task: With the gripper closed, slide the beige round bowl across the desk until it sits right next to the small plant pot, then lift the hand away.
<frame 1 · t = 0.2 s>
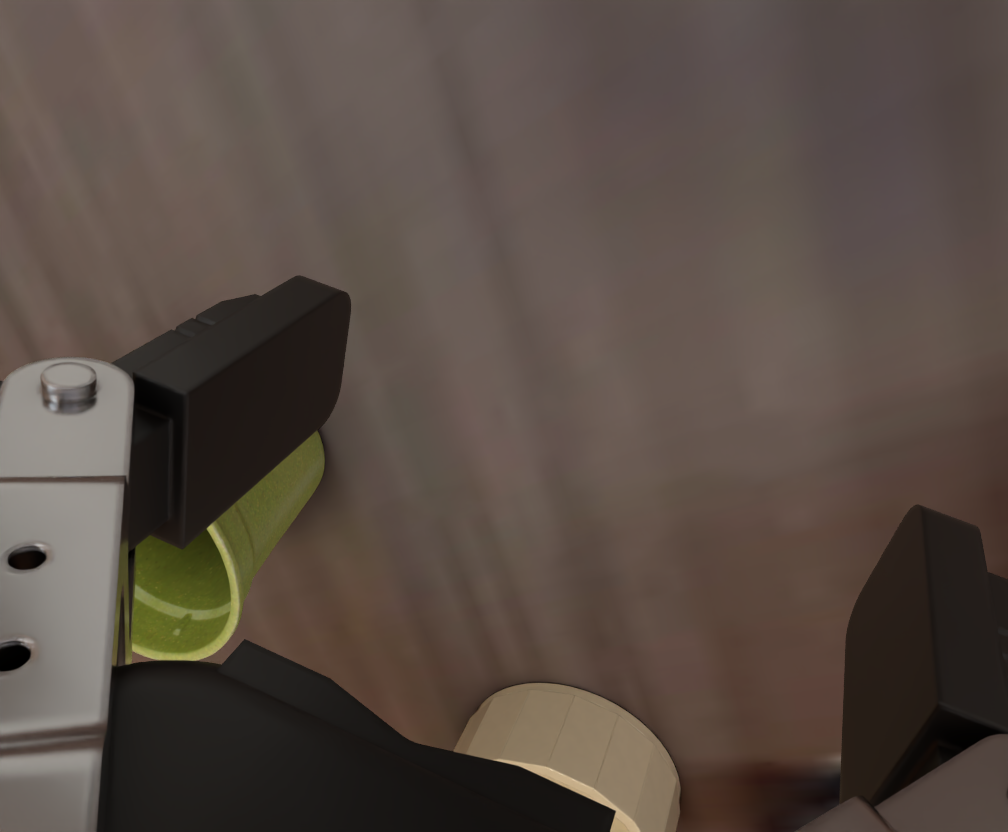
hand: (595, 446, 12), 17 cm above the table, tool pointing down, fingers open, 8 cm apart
beige round bowl: (570, 768, 41), on the table
plant pot: (265, 436, 38), on the table
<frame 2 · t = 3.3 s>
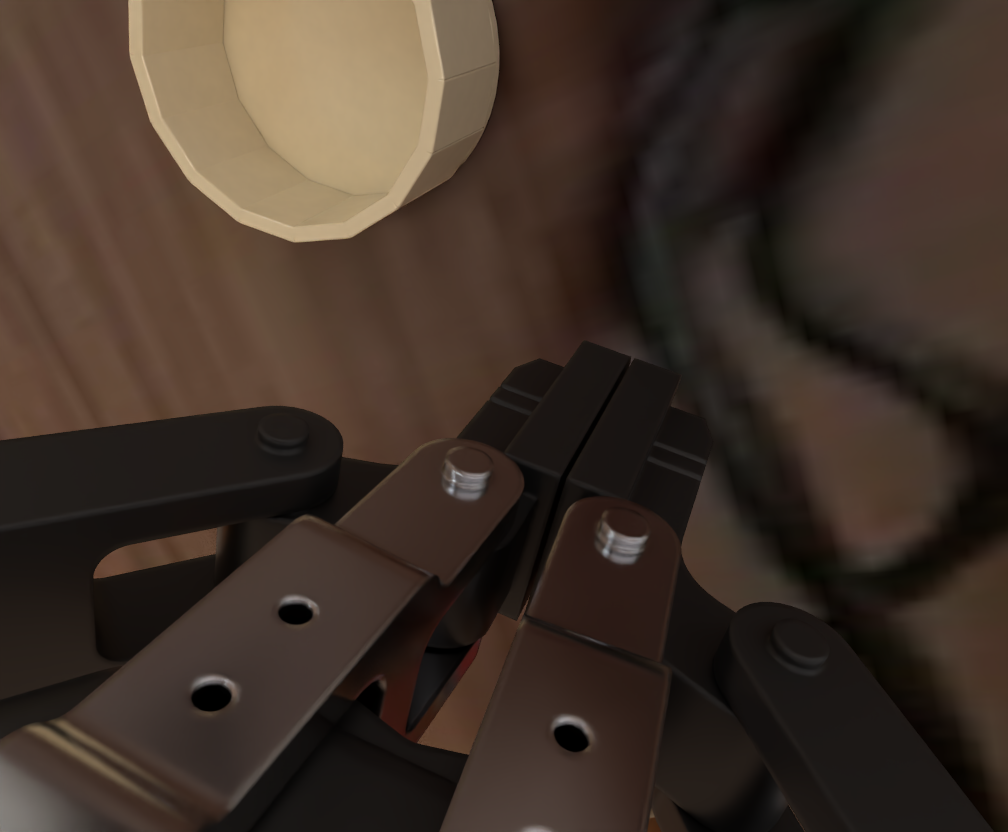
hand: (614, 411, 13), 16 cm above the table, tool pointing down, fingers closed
beige round bowl: (354, 49, 29), on the table
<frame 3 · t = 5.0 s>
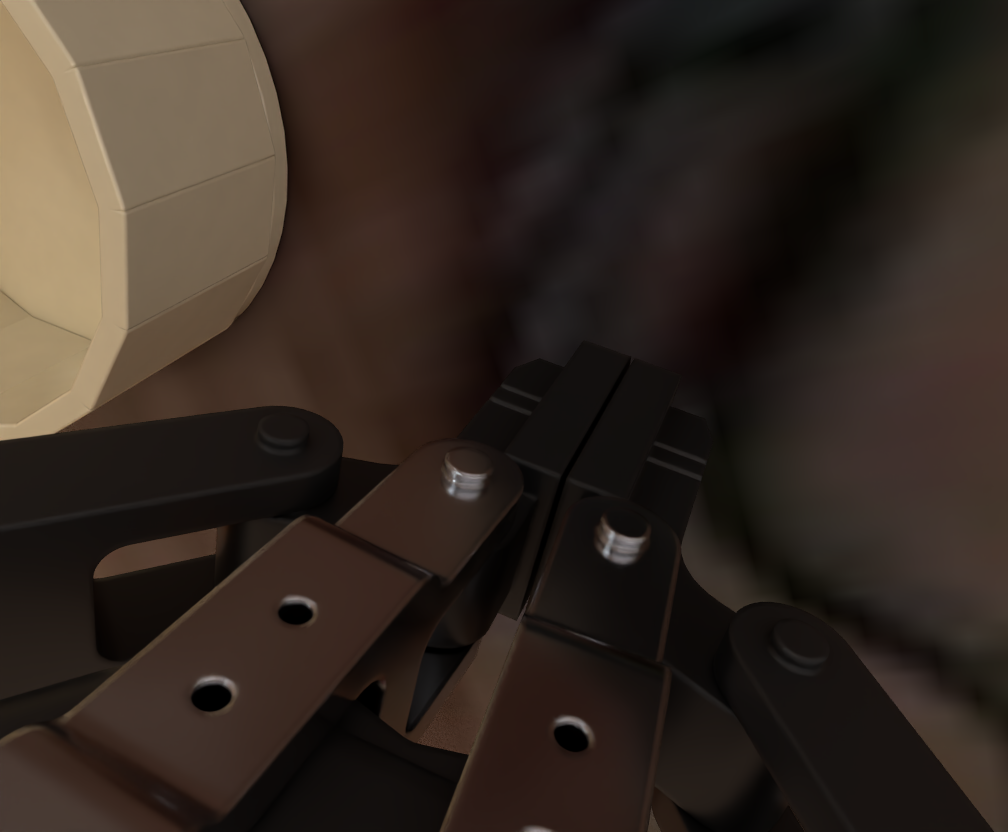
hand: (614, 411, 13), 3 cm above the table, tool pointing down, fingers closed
beige round bowl: (72, 124, 18), on the table
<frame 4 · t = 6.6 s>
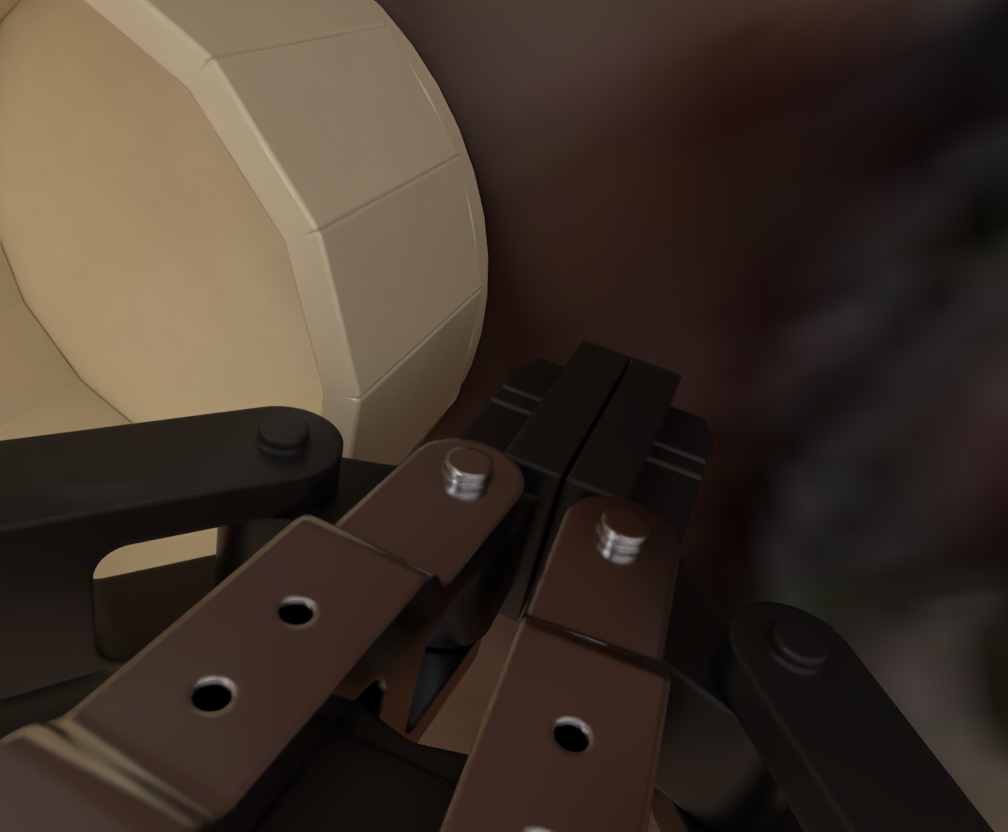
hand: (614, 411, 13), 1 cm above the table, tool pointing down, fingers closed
beige round bowl: (218, 233, 15), on the table, touching gripper
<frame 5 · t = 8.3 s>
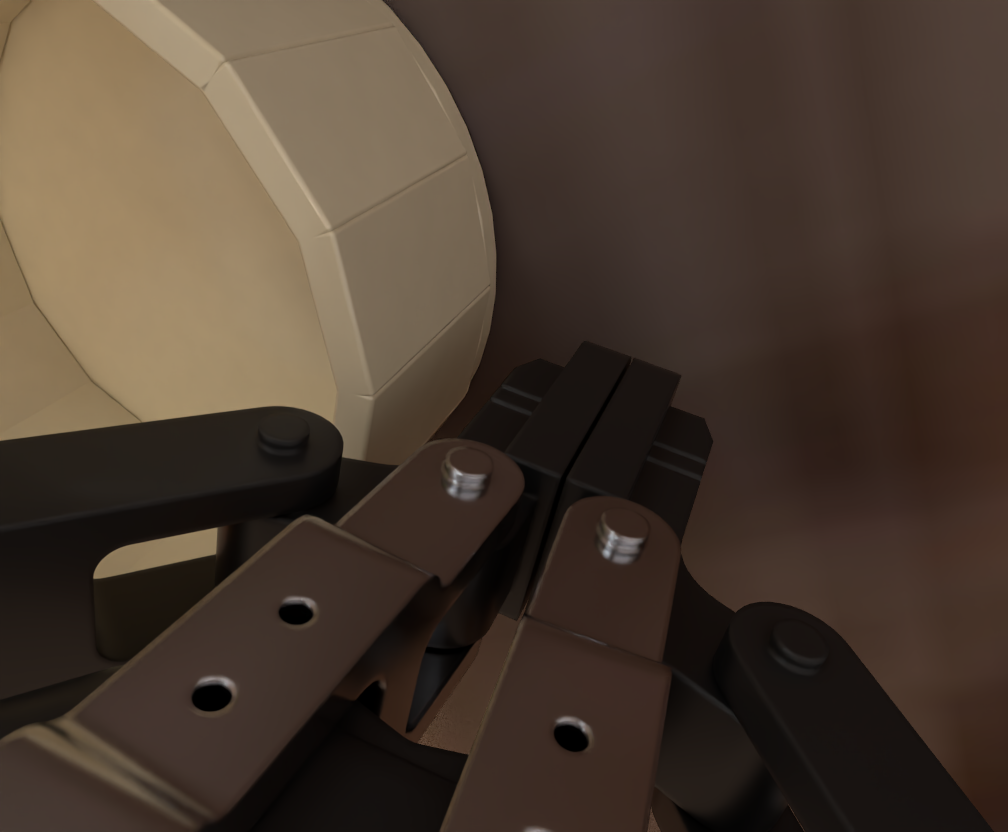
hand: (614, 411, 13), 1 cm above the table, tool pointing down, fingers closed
beige round bowl: (227, 233, 16), on the table, touching gripper
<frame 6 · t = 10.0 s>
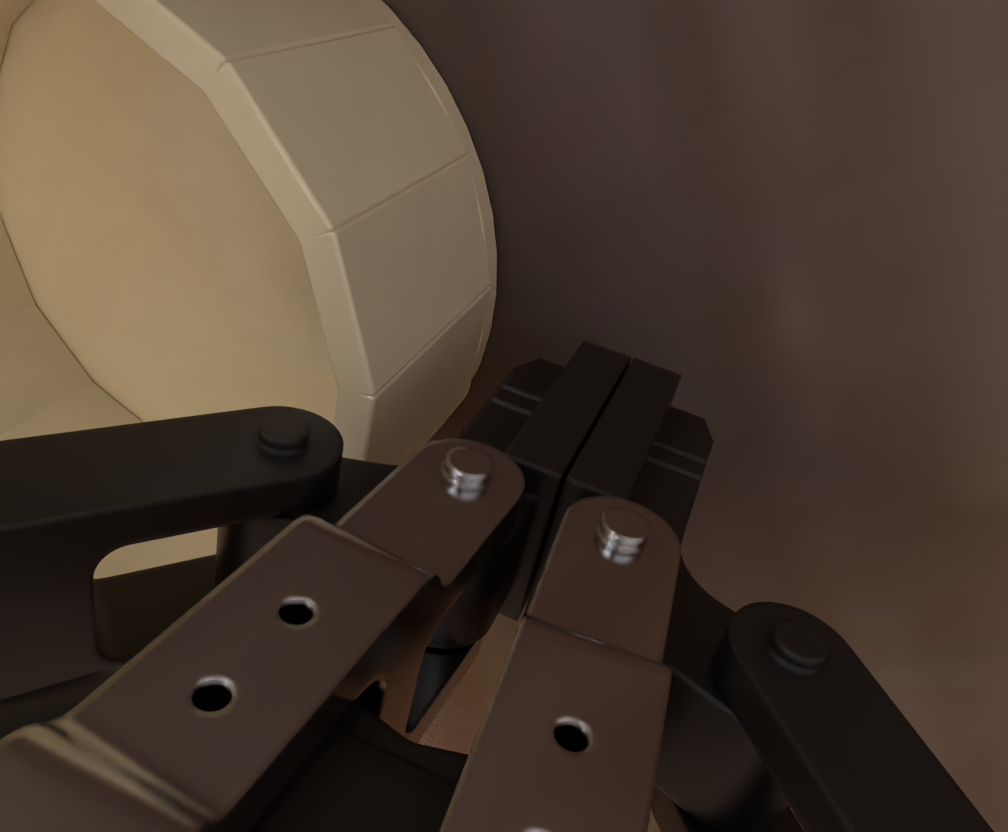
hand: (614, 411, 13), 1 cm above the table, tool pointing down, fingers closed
beige round bowl: (228, 234, 16), on the table, touching gripper
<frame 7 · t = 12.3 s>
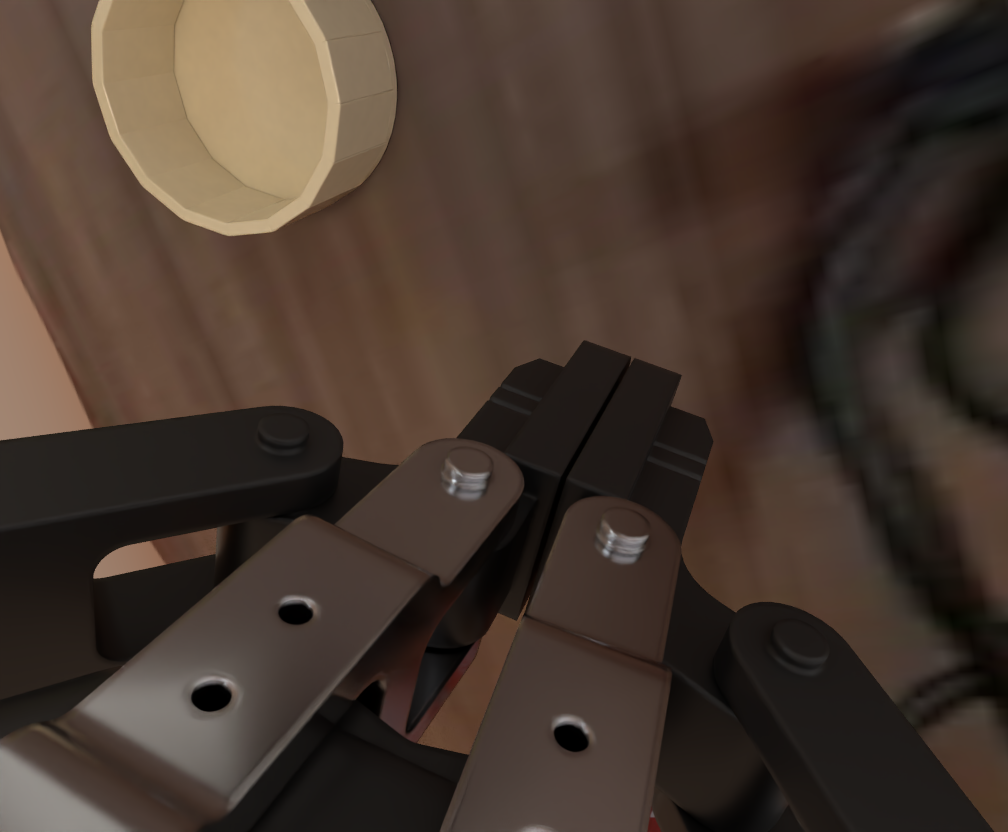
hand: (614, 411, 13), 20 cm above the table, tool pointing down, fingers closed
beige round bowl: (281, 78, 35), on the table
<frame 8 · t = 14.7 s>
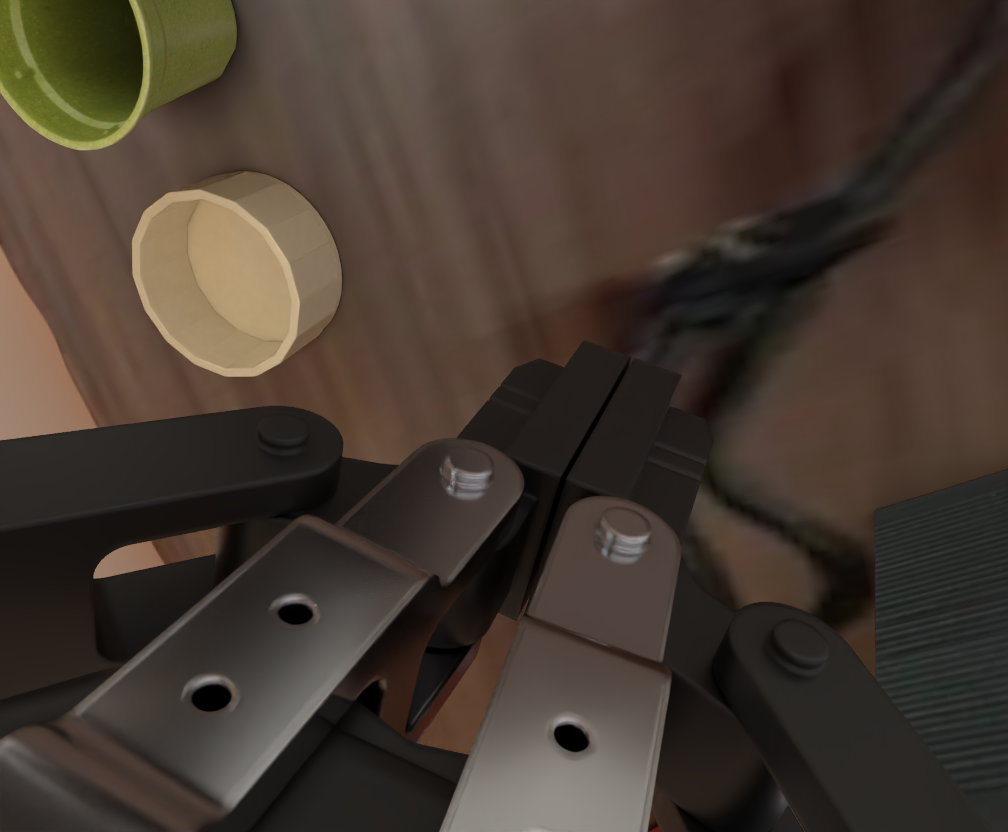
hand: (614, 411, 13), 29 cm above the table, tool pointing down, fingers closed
beige round bowl: (262, 261, 50), on the table
plant pot: (188, 19, 45), on the table
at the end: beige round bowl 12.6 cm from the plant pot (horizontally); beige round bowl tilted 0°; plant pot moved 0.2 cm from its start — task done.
